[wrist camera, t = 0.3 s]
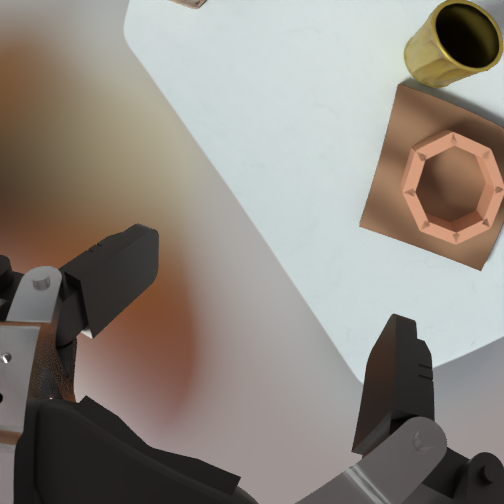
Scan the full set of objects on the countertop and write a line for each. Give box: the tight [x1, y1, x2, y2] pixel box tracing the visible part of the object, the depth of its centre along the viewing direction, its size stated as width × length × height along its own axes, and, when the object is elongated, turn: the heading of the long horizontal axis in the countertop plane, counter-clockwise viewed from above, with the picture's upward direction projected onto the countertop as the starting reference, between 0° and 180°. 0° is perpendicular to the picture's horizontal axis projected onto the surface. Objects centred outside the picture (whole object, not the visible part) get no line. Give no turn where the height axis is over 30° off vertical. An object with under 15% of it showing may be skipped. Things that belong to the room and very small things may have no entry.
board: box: [359, 84, 504, 271], centre depth 29 cm, size 16×16×2 cm
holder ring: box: [400, 130, 504, 245], centre depth 27 cm, size 10×10×3 cm
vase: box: [404, 0, 503, 88], centre depth 19 cm, size 6×6×14 cm
